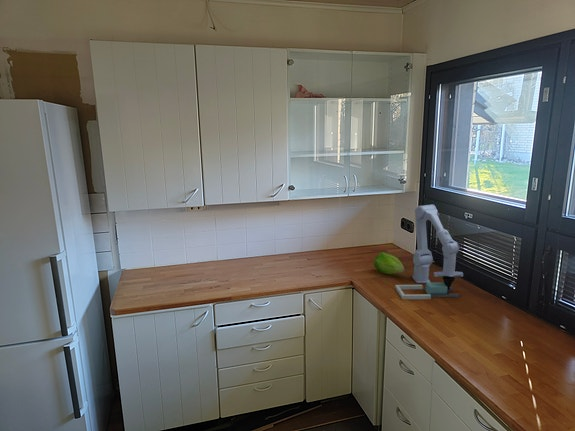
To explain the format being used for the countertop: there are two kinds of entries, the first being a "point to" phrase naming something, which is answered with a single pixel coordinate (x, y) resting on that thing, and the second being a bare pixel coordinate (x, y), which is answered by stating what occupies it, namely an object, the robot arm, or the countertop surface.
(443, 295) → the parallel guide rails
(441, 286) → the teal block
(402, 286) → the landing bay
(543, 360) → the countertop surface
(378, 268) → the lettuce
